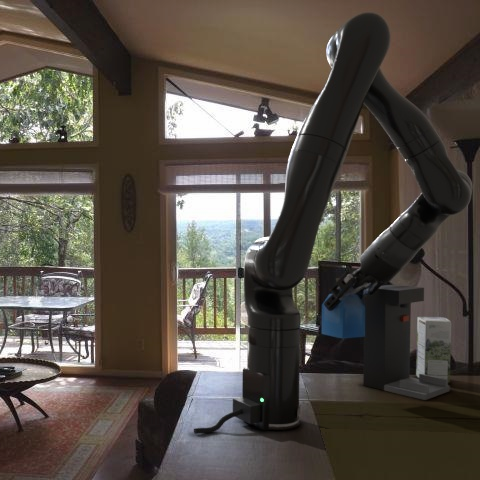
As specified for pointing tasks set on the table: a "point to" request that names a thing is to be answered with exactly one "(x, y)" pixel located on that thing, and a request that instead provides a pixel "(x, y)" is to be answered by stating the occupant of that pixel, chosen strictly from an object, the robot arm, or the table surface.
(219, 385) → the table surface
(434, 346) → the syrup box
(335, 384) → the table surface
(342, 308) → the perfume bottle
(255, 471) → the table surface
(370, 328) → the coffee maker
